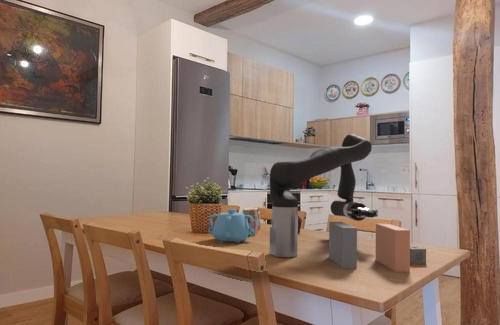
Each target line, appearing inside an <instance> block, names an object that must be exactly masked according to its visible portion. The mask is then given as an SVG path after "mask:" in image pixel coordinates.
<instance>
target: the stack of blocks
mask: <svg viewBox="0 0 500 325" xmlns="http://www.w3.org/2000/svg"><path fill="white" fill-rule="evenodd" d="M242 213H243V214H244V215H250V216H251V217H252V218H253V220H254V222H253V226H252V228H251V229H253V230H254V235H251V236H250V235H248V237H256V235H257V234H258V233H259V232H260V230H261V211H259V207H257V206H256V207H253V206H252V207H249V206H248V207H245V208H243V209H242ZM246 220H247V222H248V226H249V227H250V224H251V219H250V218H249V217H246ZM250 233H252V231H250Z"/></svg>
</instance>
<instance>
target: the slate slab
mask: <svg viewBox="0 0 500 325" xmlns="http://www.w3.org/2000/svg"><path fill="white" fill-rule="evenodd" d="M328 226H329V227H328V229H329V230H328V259H330V260H332V261H333V262H334V263H336V265H337V266H339V267H341V269H357V266H358V227H355V226H353V225H351V224H348V223H346V222H343V221H329V222H328Z"/></svg>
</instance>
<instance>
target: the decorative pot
mask: <svg viewBox="0 0 500 325" xmlns="http://www.w3.org/2000/svg"><path fill="white" fill-rule="evenodd" d="M227 211H228V212H219V213H218V214H217V213H214V214H211V215H210V217H209V219H208V220H209V224H210V227H209V228H208V234H210V235H212V237H213V238H214V239H215V240H216V241H219V243H226V242H233V243H235V244H240V243H241V242H242V241H246V240H247V238H248V237H252V236H251V235H254V230H253V229H251V228H252V226H253V222H254V220H253V218H252V217H251V216H250V215H244V214H243V212H242V213H241V212H236V208H228V209H227ZM214 217H216V219H215V221H214V224H213V218H214ZM246 217H249V218H250V219H251V224H250V227H249V226H248V222H247V220H246ZM250 231H252V233H250ZM248 235H250V236H248Z"/></svg>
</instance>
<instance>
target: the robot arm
mask: <svg viewBox="0 0 500 325" xmlns="http://www.w3.org/2000/svg"><path fill="white" fill-rule="evenodd" d="M372 146H373V145H372V142H370V140H368V139H366V138H364V137H362V136H359V135H356V134H354V133H349V134H347V135H345V137H344V138H343V140H342V143H341V146H327V147H323V148H321V149H318V150H316V151H314V152H312V154H311V155H310V156H309V157H308V158H306V159H302V160H298V161H278V162H275V163H274V164H273V165H272V166H271V169H270V172H269V194H270V195H269V196H270V199H271V204H272V207H271V208H272V211H271V212H272V214H271V220H272V221H271V226H270V227H269V255H272V256H274V257H276V258H280V257H281V258H294V257H297V256H298V253H299V252H298V250H299V248H298V242H299V240H298V238H299V236H298V216H299V199H298V198H297V197H296V196H294V195H293V194H292V192H291V188H296V187H299V186H301V185H302V184H304V183H305V182H307V181H309V180H310V179H312V178H315V177H317V176H320V175H323V174H326V173H328V172H331V171H334V170H336V169H337V168H339V167H340V178H339V182H338V183H339V184H338V188H337V196H338V197H339V198H340V199H342V200H340V199H339V200H336V199H335V200H333V201H332V202H331V204H330V212H331V213H332V214H333V215H334V216H336V217H346V218H348V219H349V220H353V221H356V222H361V221H363V220H364V219H366V218H367V219H369V218H371V219H372V218H376V217H378V216H379V214H378V212H379V210H378V209H372V210H371V209H370V208H367V206H366V204H364V203H362V202H360V201H359V202H358V201H354V193H355V188H356V184H357V183H356V182H357V181H356V175H355V173H354V172H355V171H354V169H353V165H352V164H353V163H354V162H355V163H356V162H359V161H362V160H365V159H366V158H367V157H368V156H369V155H370V153H371V152H372V149H373V148H372Z"/></svg>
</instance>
